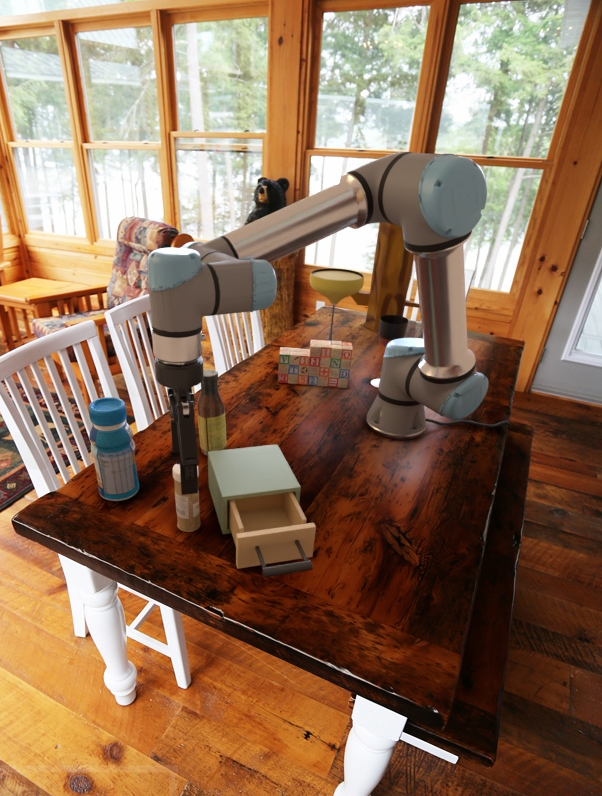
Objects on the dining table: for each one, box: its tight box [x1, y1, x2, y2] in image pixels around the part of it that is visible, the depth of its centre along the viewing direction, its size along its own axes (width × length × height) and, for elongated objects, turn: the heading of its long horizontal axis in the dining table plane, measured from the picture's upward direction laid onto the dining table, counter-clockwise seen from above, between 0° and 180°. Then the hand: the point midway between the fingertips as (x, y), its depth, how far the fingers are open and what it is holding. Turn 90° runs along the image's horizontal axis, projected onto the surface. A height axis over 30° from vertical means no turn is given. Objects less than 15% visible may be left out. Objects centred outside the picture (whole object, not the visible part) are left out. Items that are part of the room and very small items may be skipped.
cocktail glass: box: [309, 268, 365, 341], centre depth 176 cm, size 18×18×25 cm
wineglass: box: [370, 315, 409, 389], centre depth 151 cm, size 8×9×20 cm
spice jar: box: [172, 463, 202, 533], centre depth 93 cm, size 5×5×13 cm
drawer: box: [227, 492, 317, 579], centre depth 89 cm, size 21×14×7 cm, turn 15°
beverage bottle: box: [87, 396, 140, 502], centre depth 100 cm, size 8×8×20 cm
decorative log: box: [350, 223, 420, 332], centre depth 194 cm, size 14×40×30 cm
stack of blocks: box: [277, 339, 353, 389], centre depth 153 cm, size 21×6×12 cm, turn 84°
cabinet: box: [207, 443, 302, 535], centre depth 101 cm, size 16×15×9 cm
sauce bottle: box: [196, 369, 228, 457], centre depth 115 cm, size 7×6×20 cm
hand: (184, 470), depth 90 cm, fingers open, 13 cm apart
